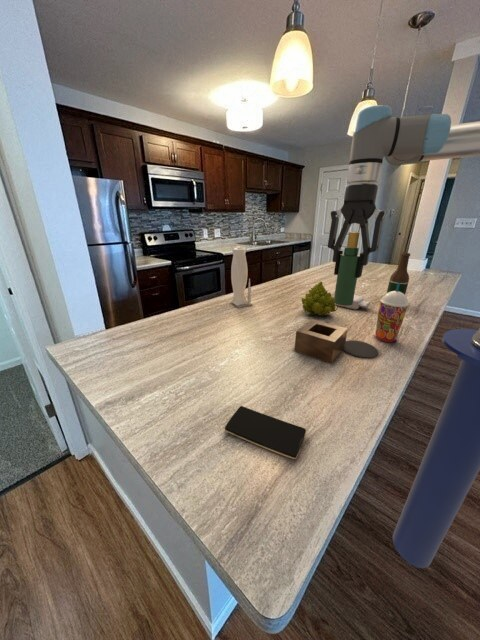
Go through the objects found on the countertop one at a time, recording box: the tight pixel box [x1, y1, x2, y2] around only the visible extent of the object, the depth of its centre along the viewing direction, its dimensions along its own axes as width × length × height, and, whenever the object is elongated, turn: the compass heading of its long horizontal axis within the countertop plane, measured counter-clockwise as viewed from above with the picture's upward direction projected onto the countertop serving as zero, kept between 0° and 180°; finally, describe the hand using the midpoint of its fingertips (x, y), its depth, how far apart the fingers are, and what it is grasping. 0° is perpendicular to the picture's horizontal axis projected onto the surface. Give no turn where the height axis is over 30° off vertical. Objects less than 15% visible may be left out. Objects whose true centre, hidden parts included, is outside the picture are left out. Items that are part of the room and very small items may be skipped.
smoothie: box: [374, 283, 410, 343], centre depth 88 cm, size 8×8×20 cm
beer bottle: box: [386, 252, 411, 296], centre depth 123 cm, size 8×8×24 cm
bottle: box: [333, 231, 360, 306], centre depth 74 cm, size 5×5×20 cm
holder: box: [293, 318, 349, 364], centre depth 83 cm, size 12×12×7 cm
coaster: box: [342, 340, 379, 359], centre depth 84 cm, size 11×11×1 cm
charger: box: [335, 294, 374, 311], centre depth 121 cm, size 5×9×15 cm
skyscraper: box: [230, 243, 253, 309], centre depth 119 cm, size 8×8×28 cm
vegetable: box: [301, 281, 339, 317], centre depth 112 cm, size 15×16×15 cm
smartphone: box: [224, 405, 307, 460], centre depth 52 cm, size 7×1×15 cm
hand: (347, 275), depth 75 cm, fingers closed on bottle, 5 cm apart
